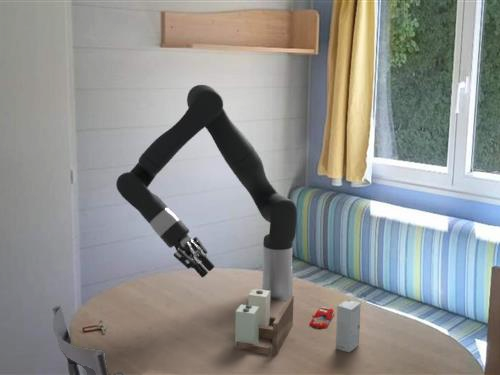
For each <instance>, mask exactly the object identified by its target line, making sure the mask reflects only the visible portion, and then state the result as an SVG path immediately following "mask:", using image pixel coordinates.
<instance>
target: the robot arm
mask: <svg viewBox="0 0 500 375" xmlns="http://www.w3.org/2000/svg"><path fill="white" fill-rule="evenodd" d="M186 102H187V103H186V104H187V107H188V108H187V110H186V111H185V113H184V115H183V116H182V117H181V118H180V119H179V120H178V121H177V122H176V123H175V124H174V125H173V126H172V127H170V128H169V129H168V130H166V131H165V132H164V133H161V135H160V136H158V137H157V138H156V139H155V140H154V141H153V142H152V143H151V144H150V145H148V147H147V148H146V149H145V151H144V152H142V154H141V155H140V156H139V157H138V158H139V159H138V162H137V163H136V165H134V167H133V168H132V169H131V170H130V171H127V172H123V173H122V174H120V175H119V176H118V177H117V179H116V184H115V185H116V189H117V191H118V193H119V195H120V196H121V197H122V198H123V199H124V200H125V201H127V202H128V203H129V205H131V206H132V207H133V208H134V209H135V210H137V211H138V212H139V213H140V215H141V216H142V217H143V219H144V220H145V221H146V222H148V224H149V225H150V227H151V228H152V230H153V231H154V232H155V233H156V234H157V236H158V237H159V238H160V239H161V240H162V241H163V242H164V243H165V244H166V246H167V247H168V248H170V249H171V248H175V251H176V252H174V253H173V256H174V258H175V259H177V261H179V262H180V263H181V264H182V265H184V267H186V268H187V269H193V270H195V271H196V272H197V274H198V275H199V276H200V277H201V278H205V277H206V275H208V273H209V272H210V271H212V270H213V269H214V268H215V265H214V264H213V262H212V261H211V260H210V259H209V258H208V257H207V256H208V255H207V254H208V253H209V252H208V251H207V249H206V248H205V246H204V244H203V243H202V242H201V240H200V239H199V238H198V237H197V236H195V237H194V238H192V237H191V236H189V235H188V234H189V233H190V229H189V228H188V226H186V225H185V224H184V223H183V221H182V220H181V219H180V218H179V216H178V215H177V214H176V213H175V212H174V211H172V209H171V208H169V206H167V205H166V204H165V202H164V201H163V200H162V199H161V198H160V197H159V196H158V195H156V194H154V193H153V192H152V191H151V190H150V189H149V186H150V185H151V184H152V182H153V180H154V179H155V177H156V176H157V175H158V174H159V173H160V172H161V171H162V170H163V169H164V168H165V167H166V166H167V164H168V163H170V161H171V160H172V159H173V158H174V157H175V155H176V154H177V153H178V152H179V151H180V150H181V149H182V148H183V147H184V146H185V145H186V144H187V143H189V141H190V140H192V139H193V138H194V137H195V136H196V135H197V134H199V132H201V131H202V130H203V129H204V128H205V129H206V130H207V132H208V133H209V135H210V137H211V138H212V140H213V142H214V143H215V146H216V147H217V150H218V151H219V152H220V155H221V156H222V158H223V159H224V161H225V163H226V164H227V166H228V167H229V168H230V170H231V171H232V172H233V174H234V175H235V177H236V178H237V179H238V181H239V182H240V183H241V184H242V186H243V187H244V188H245V189H246V191H247V192H248V193H249V195H250V197H251V199H252V200H253V202H254V204H255V206H256V209H258V212H259V213H260V215H261V216H262V218H263V219H264V220H265V221H266V222H268V223H269V233H268V234H265V235H264V236H263V240H262V241H263V248H262V250H263V252H262V285H261V286H262V289H261V290H268V291H270V301H277V302H286V301H287V299H288V298H289V296H293V285H294V284H293V283H294V282H293V279H294V267H293V246H294V245H293V242H294V240H295V237H296V231H297V219H298V211H297V206H296V204H295V202H294V201H293V200H292V199H289V198H288V197H285V196H284V195H281V194H279V192H278V191H277V190H276V189H275V188H274V187H273V185H272V184H271V182H270V181H269V180H268V178H267V176H266V172H265V168H264V164H263V162H262V158H261V157H260V156H259V155H260V154H258V152H257V151H256V149H255V148H254V146H253V145H252V143H251V142H250V141H249V139H248V138H247V137H246V135H245V134H243V132H242V131H241V130H240V129H239V128H238V127H237V125H235V124H234V122H232V120H231V119H230V117H229V116H228V114H227V112H226V111H225V108H224V100H223V98H222V95H221V94H220V93H219V92H218V91H217V90H215V89H214V88H213V87H211V86H210V85H206V84H198V85H195V86H193V87H191V89H190V90H189V91H188V94H187V96H186Z"/></svg>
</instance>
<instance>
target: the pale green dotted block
mask: <svg viewBox="0 0 500 375" xmlns="http://www.w3.org/2000/svg"><path fill="white" fill-rule="evenodd" d="M234 331H235V334H234V335H235V336H234V339H235V340H234V345H235V346H234V347H235V348H236V342H242V343H249V344H256V345H258V344H259V339H260V337H259V307H257V306H251V305H248V304H240V305H239V306H238V307H237V309H235V330H234Z"/></svg>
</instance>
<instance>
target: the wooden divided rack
mask: <svg viewBox="0 0 500 375" xmlns="http://www.w3.org/2000/svg"><path fill="white" fill-rule="evenodd" d="M294 297H295V296H293V295H291V296H289V298H288V299H287V301H285V303H284V304H283V306H282V308H281V309H280V311H279V312H278V314H277V316H276V317H274V316H270V324H271V325H272V326H261V325H259V339H261V338H262V339H268V340H272V344H271V345H272V347H271V346H269V345H262V344H257V345H256V344H249V343H242V342H236V347H235V349H236V350H238V351H244V352H253V353H259V354H265V355H270V354H271V352H272V356H278V354H279V352H280V350H281V348H282V347H283V344H284V343H285V341H286V339H287V337H288V336H289V333H290V331H291V330H292V328H293V326H294V323H293V322H294V303H295V302H294V300H295V298H294ZM270 324H269V325H270ZM271 349H272V350H271Z"/></svg>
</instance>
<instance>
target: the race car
mask: <svg viewBox="0 0 500 375" xmlns="http://www.w3.org/2000/svg"><path fill="white" fill-rule="evenodd" d="M334 316H335V312H334V309H333V308H331V307H325V306H323V307H319V308H318V310H316V312H315V314H314V315H311V317H312V319H310V322H309V327H311V328H313V329H317V330H324V329H325V330H326V329H327V328H328V326H330V325H329V324H330V323H331V321H332V320H333V318H334Z"/></svg>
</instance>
